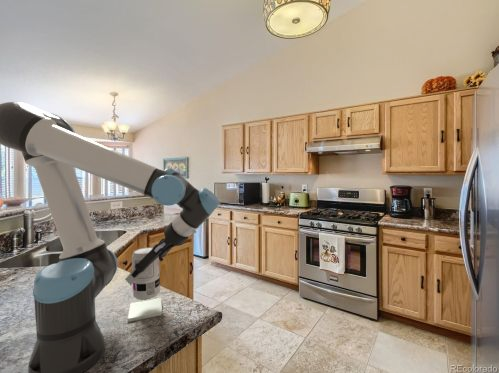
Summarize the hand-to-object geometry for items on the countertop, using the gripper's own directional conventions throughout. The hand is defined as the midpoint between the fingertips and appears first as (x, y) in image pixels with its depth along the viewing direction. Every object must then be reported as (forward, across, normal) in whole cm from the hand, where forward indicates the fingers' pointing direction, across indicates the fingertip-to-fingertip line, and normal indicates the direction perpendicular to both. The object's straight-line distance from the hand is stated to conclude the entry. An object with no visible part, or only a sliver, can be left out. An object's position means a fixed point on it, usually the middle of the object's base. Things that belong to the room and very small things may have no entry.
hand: (137, 276), depth 83 cm
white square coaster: (+6, 0, -10) cm, 12 cm away
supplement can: (+2, 0, -7) cm, 7 cm away
